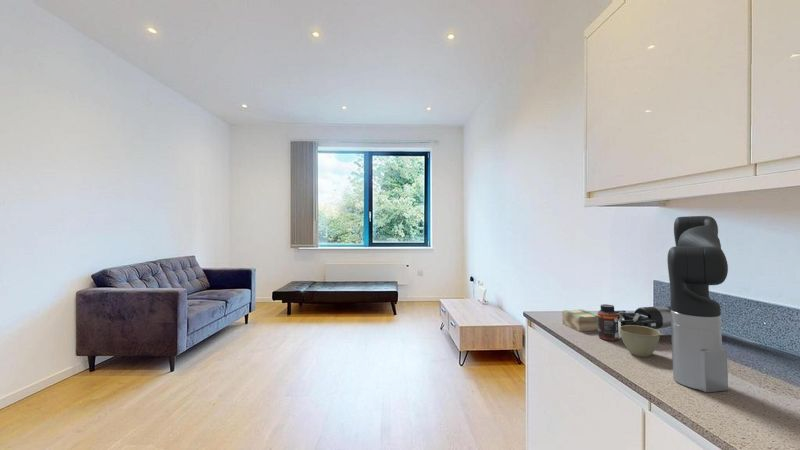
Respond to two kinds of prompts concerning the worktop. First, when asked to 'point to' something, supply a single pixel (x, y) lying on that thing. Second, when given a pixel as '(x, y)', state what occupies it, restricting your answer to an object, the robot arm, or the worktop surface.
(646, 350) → the beige round bowl
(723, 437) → the worktop surface
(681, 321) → the robot arm
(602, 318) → the supplement bottle
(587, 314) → the step
